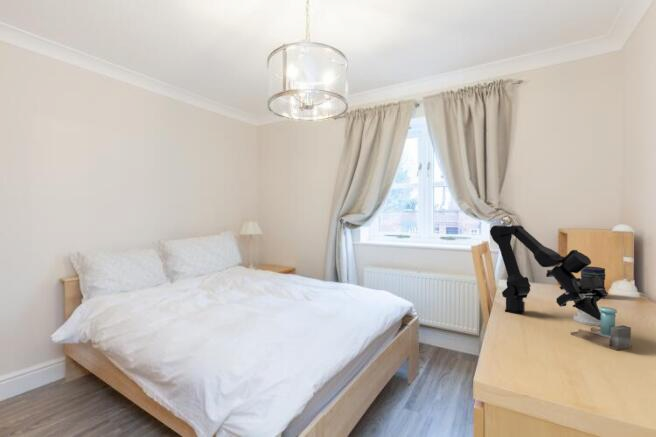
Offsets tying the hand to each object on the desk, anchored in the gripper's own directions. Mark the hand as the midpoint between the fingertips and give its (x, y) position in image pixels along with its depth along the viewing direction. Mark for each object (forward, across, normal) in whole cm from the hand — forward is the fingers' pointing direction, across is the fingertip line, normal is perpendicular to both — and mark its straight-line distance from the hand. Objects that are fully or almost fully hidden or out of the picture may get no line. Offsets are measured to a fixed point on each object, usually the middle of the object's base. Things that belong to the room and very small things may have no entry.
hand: (600, 319), depth 105 cm
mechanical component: (-5, +17, +16) cm, 24 cm away
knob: (+7, 0, +4) cm, 8 cm away
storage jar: (-24, +61, +34) cm, 74 cm away
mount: (+5, 0, +5) cm, 7 cm away
